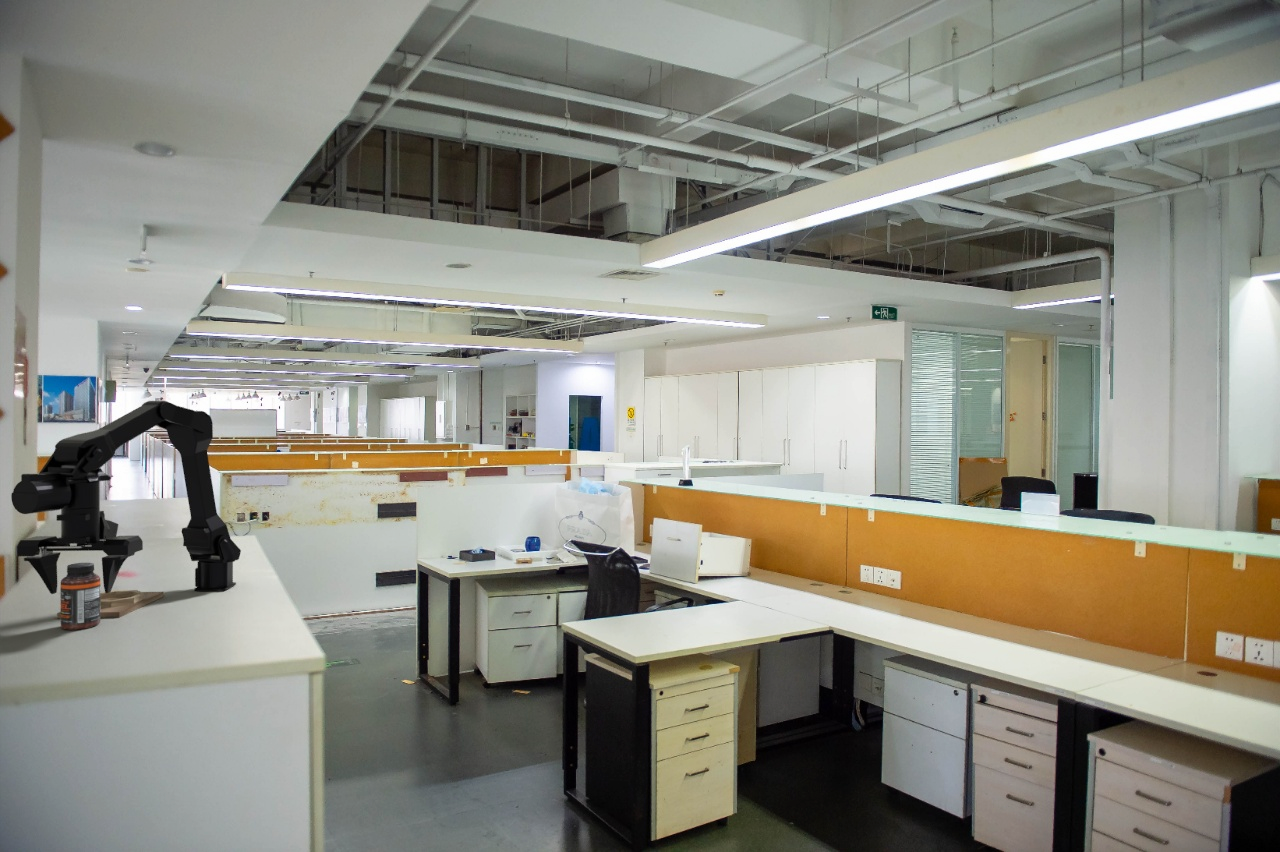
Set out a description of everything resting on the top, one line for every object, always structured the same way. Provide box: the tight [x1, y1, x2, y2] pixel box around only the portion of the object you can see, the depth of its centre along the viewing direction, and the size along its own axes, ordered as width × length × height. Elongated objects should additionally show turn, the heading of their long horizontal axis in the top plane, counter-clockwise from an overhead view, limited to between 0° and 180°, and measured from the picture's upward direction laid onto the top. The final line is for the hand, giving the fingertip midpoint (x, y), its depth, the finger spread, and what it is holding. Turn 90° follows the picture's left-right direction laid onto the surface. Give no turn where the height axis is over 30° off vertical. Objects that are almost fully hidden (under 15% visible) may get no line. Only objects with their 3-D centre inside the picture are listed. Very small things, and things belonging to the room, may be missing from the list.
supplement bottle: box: [59, 562, 102, 631], centre depth 142 cm, size 6×6×11 cm
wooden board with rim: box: [56, 589, 165, 619], centre depth 157 cm, size 11×17×2 cm, turn 6°
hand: (80, 593), depth 143 cm, fingers open, 9 cm apart
